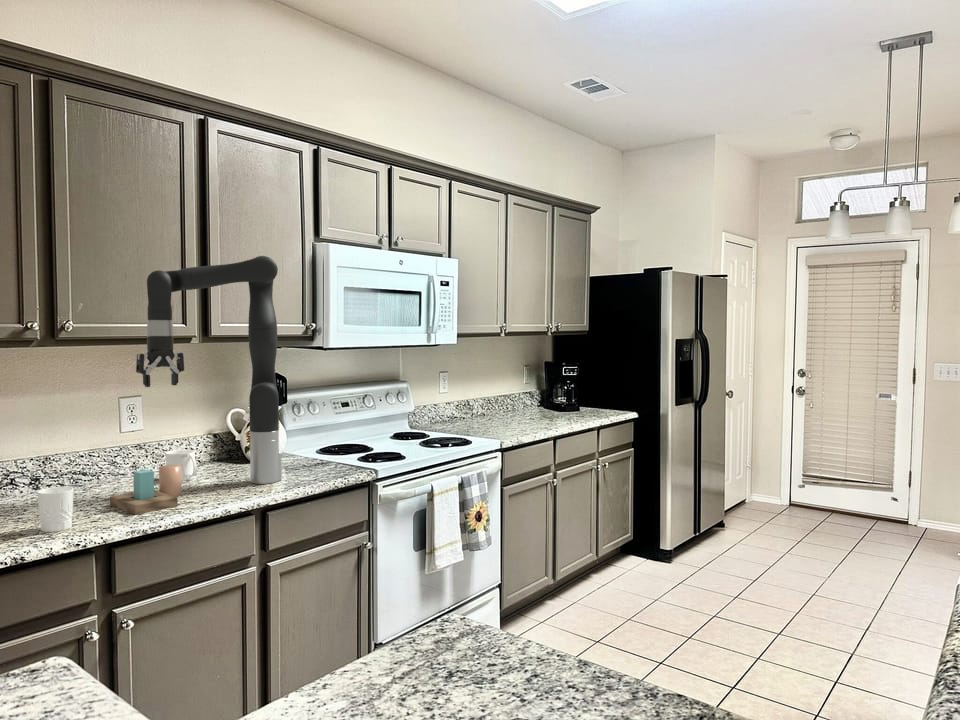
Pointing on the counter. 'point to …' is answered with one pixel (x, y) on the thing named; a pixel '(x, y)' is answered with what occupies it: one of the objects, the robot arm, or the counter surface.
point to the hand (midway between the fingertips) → (161, 386)
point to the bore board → (143, 502)
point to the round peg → (170, 480)
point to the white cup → (55, 508)
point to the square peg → (143, 484)
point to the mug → (183, 462)
